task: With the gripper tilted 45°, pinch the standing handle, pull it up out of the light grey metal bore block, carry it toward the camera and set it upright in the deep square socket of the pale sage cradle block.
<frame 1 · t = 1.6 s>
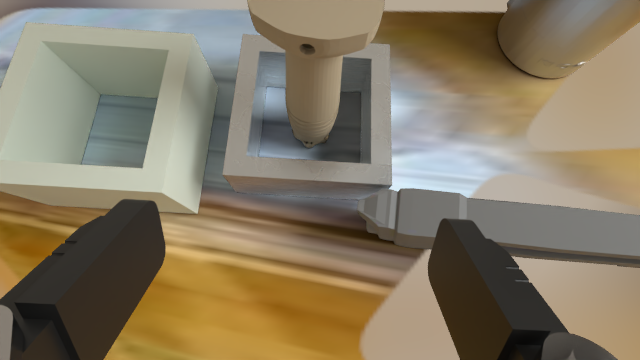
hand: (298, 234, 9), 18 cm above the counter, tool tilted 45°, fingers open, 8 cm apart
bore block: (311, 132, 29), on the counter
cradle block: (139, 142, 29), on the counter
tapered grey rod: (509, 245, 28), on the counter
handle: (311, 133, 30), resting in bore block
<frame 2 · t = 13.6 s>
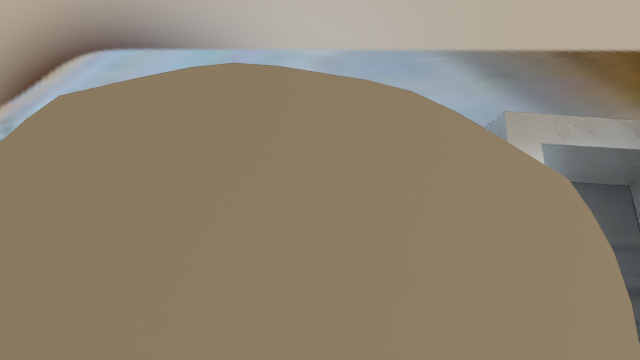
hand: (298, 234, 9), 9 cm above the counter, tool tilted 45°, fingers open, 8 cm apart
bore block: (569, 257, 18), on the counter
handle: (302, 284, 17), resting in cradle block
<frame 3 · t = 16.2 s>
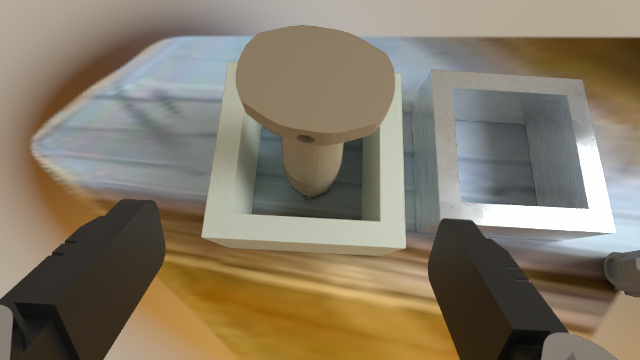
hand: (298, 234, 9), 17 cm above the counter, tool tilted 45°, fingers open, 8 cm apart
bore block: (481, 167, 28), on the counter
cradle block: (309, 179, 27), on the counter
handle: (311, 182, 28), resting in cradle block
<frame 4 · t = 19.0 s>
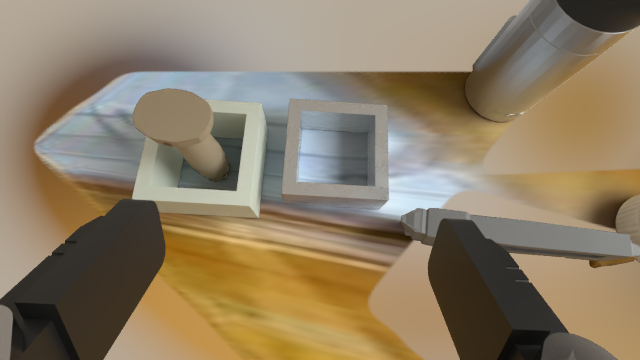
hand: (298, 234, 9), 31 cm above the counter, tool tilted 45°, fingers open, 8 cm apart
bore block: (333, 161, 43), on the counter
cradle block: (217, 169, 42), on the counter
tapered grey rod: (498, 244, 41), on the counter
handle: (218, 171, 42), resting in cradle block
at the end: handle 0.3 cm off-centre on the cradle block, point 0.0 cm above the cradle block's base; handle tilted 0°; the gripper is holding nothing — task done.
